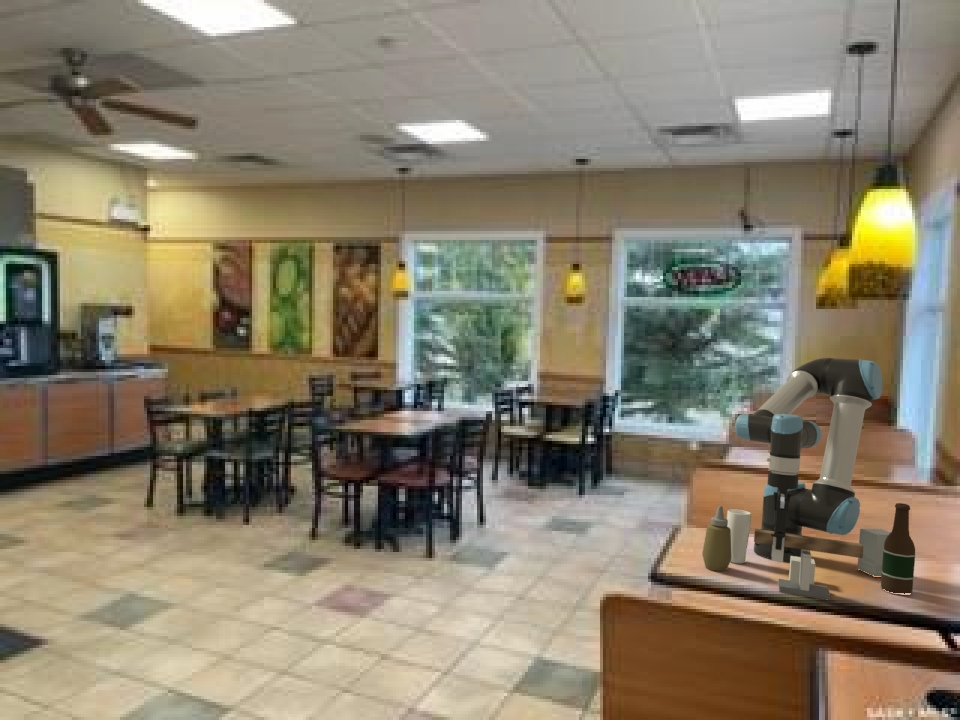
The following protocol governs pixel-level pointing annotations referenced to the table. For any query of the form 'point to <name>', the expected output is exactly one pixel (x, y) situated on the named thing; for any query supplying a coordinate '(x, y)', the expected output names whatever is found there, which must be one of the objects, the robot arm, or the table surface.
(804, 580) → the ridge stand
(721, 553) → the squeeze bottle
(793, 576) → the block
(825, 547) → the walnut bar
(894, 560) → the beer bottle
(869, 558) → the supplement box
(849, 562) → the table surface
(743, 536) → the drinking glass
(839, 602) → the table surface
